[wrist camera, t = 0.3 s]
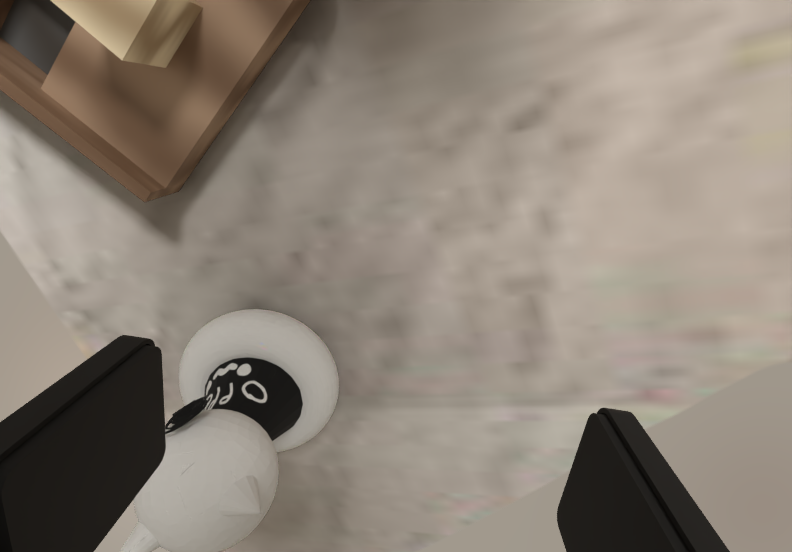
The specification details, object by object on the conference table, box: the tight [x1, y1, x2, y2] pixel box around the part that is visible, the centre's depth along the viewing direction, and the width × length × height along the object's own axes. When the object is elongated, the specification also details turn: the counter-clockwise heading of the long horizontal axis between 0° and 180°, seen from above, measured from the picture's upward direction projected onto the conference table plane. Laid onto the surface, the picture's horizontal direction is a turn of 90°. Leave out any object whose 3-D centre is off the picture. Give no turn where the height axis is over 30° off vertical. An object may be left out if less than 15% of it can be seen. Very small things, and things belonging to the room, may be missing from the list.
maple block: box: [51, 0, 203, 68], centre depth 29 cm, size 5×5×5 cm
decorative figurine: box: [120, 309, 339, 552], centre depth 35 cm, size 15×15×20 cm
